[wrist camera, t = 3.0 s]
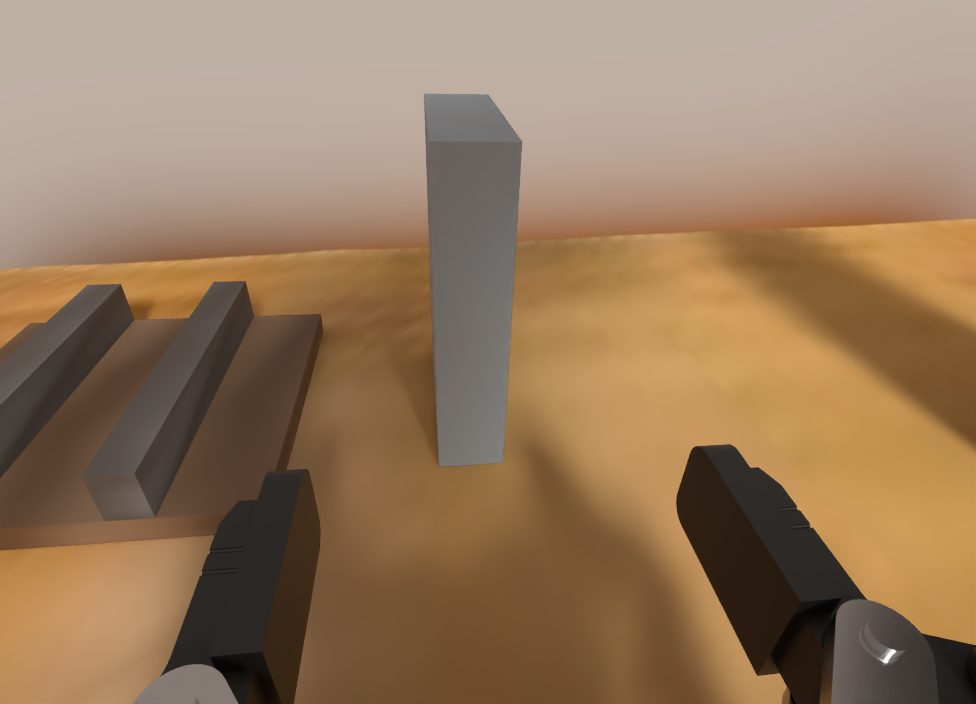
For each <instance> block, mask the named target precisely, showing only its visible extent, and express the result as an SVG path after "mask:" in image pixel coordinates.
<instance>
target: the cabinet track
mask: <svg viewBox="0 0 976 704" xmlns="http://www.w3.org/2000/svg"><path fill="white" fill-rule="evenodd" d="M322 333H323V327H322V321H321V314H312V315H280V316H254V315H253V310H252V306H251V302H250V298H249V294H248V290H247V285H246V281H234V282H213V284H212V285H211V287H210V288H209V290H208V291H207V293H206V294H205V296H204V297H203V299H202V300H201V301H200V303H199V304H198V306H197V307H196V309H195V310H194V312H193V313H192V315H191V316H190V317H189V318H183V319H150V320H134V318H133V315H132V312H131V310H130V307H129V304H128V302H127V299H126V297H125V294H124V291H123V289H122V286H121V284H110V285H87V286H86V287H85V288H84V289H83V290H82V291H80V292H79V293H78V294H77V295H76V296H75V297H74V298H73V299H72V300H70V301H69V302H68V303H67V304H66V305H65V306H64V307H63V308H62V309H61V310H59V311H58V312H57V313H56V314H55V315H54V316H53V317H52V318H51V319H49V320H48V321H47V322H46V323H30V324H29V325H28V326H26V327H25V328H24V329H23V330H22V331H21V332H19V333H18V334H17V335H16V336H15V337H14V338H13V339H11V340H10V341H9V342H8V343H7V344H6V345H4V346H3V347H2V348H1V349H0V550H10V549H24V548H38V547H51V546H65V545H79V544H93V543H106V542H120V541H134V540H148V539H161V538H175V537H189V536H203V535H215V534H216V531H217V528H218V525H219V523H220V522H221V521H222V520H223V519H224V517H225V516H226V515H227V514H228V513H229V511H230V510H231V509H232V508H233V507H234V506H235V504H236V503H237V502H238V501H244V500H258V496H259V493H260V490H261V487H262V483H263V480H264V477H265V475H266V473H267V472H269V471H285V470H286V468H287V465H288V461H289V457H290V453H291V450H292V446H293V442H294V438H295V435H296V431H297V427H298V423H299V420H300V416H301V412H302V408H303V404H304V401H305V397H306V393H307V389H308V386H309V382H310V378H311V374H312V371H313V367H314V363H315V359H316V356H317V352H318V348H319V344H320V340H321V337H322Z"/></svg>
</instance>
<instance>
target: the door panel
mask: <svg viewBox="0 0 976 704" xmlns="http://www.w3.org/2000/svg"><path fill="white" fill-rule="evenodd" d="M424 104H425V105H424V106H425V134H426V135H425V136H426V164H427V165H426V166H427V195H428V224H429V256H430V286H431V316H432V346H433V367H434V386H435V405H436V423H437V442H438V461H439V467H446V466H462V465H478V464H494V463H503V454H504V437H505V420H506V403H507V387H508V370H509V353H510V336H511V320H512V303H513V286H514V269H515V253H516V236H517V219H518V218H517V217H518V201H519V186H520V167H521V152H522V141H521V140H520V138H519V137H518V135H517V134H516V133H515V131H514V130H513V128H512V127H511V125H510V124H509V123H508V121H507V120H506V118H505V117H504V116H503V114H502V113H501V112H500V110H499V109H498V107H497V106H496V105H495V103H494V102H493V100H492V99H491V98H490V96H489V95H479V94H424Z"/></svg>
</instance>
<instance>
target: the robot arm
mask: <svg viewBox="0 0 976 704" xmlns="http://www.w3.org/2000/svg"><path fill="white" fill-rule="evenodd" d="M676 505H677V513H678V517H679V520H680V523H681V525H682V527H683V529H684V531H685V533H686V535H687V537H688V539H689V541H690V543H691V545H692V547H693V549H694V551H695V553H696V555H697V557H698V559H699V561H700V563H701V565H702V567H703V569H704V571H705V573H706V575H707V577H708V579H709V581H710V583H711V585H712V587H713V589H714V591H715V593H716V595H717V597H718V599H719V601H720V603H721V605H722V607H723V609H724V611H725V613H726V615H727V617H728V619H729V621H730V623H731V625H732V627H733V629H734V631H735V633H736V635H737V637H738V639H739V641H740V643H741V645H742V647H743V649H744V651H745V653H746V655H747V657H748V659H749V660H750V662H751V664H752V666H753V668H754V670H755V672H756V674H757V676H759V675H768V674H777V673H780V674H781V676H782V678H783V680H784V682H785V684H786V686H787V687H786V689H785V691H784V693H783V697H782V704H976V645H972V644H967V643H962V642H958V641H953V640H949V639H944V638H939V637H935V636H930V635H926V634H922V633H920V631H919V630H918V629H917V628H916V627H915V626H914V625H913V624H912V623H911V622H909V621H908V620H907V619H906V618H904V617H903V616H902V615H900V614H899V613H897V612H896V611H894V610H892V609H891V608H888V607H886V606H884V605H882V604H879V603H877V602H873V601H869V600H867V599H866V598H865V597H864V595H863V594H862V593H861V592H860V590H859V589H858V588H857V586H856V585H855V584H854V582H853V581H852V580H851V578H850V577H849V576H848V574H847V573H846V571H845V570H844V569H843V567H842V566H841V565H840V563H839V562H838V561H837V559H836V558H835V557H834V555H833V554H832V553H831V551H830V550H829V549H828V547H827V546H826V545H825V543H824V542H823V541H822V539H821V538H820V537H819V535H818V534H817V533H816V531H815V530H814V529H813V528H810V523H809V522H808V520H807V519H806V518H805V516H804V515H803V514H802V512H801V511H800V510H797V506H796V504H795V503H794V502H793V500H792V499H791V498H790V496H789V495H788V494H787V492H786V491H785V490H784V488H783V487H782V486H781V485H780V484H779V483H778V482H777V481H775V480H774V479H773V478H771V477H770V476H769V475H768V474H766V473H765V472H764V471H762V470H761V469H760V468H758V467H757V468H750V467H749V465H748V464H747V463H746V461H745V460H744V458H743V457H742V455H741V454H740V453H739V451H738V450H737V449H736V448H735V447H734V446H732V445H730V444H727V445H711V446H696V447H694V448H693V449H692V450H691V453H690V455H689V459H688V462H687V465H686V468H685V471H684V474H683V478H682V481H681V484H680V487H679V490H678V493H677V499H676ZM319 548H320V521H319V515H318V511H317V506H316V501H315V497H314V492H313V487H312V483H311V478H310V474H309V471H308V470H307V469H301V470H285V471H269V472H267V473H266V475H265V477H264V480H263V483H262V487H261V490H260V493H259V496H258V500H244V501H238V502H237V503H236V504H235V506H234V507H233V508H232V509H231V510H230V511H229V513H228V514H227V515H226V516H225V517H224V519H223V520H222V521H221V522H220V523H219V525H218V528H217V531H216V534H215V536H214V539H213V542H212V545H211V547H210V554H208V556H207V558H206V561H205V564H204V567H203V569H202V576H200V578H199V580H198V583H197V586H196V589H195V591H194V594H193V597H192V600H191V602H190V605H189V608H188V611H187V613H186V616H185V619H184V622H183V624H182V627H181V630H180V633H179V635H178V638H177V641H176V644H175V646H174V649H173V652H172V655H171V657H170V660H169V662H168V664H167V666H166V668H165V670H164V671H163V673H162V675H161V676H160V677H159V678H158V679H156V680H155V681H154V682H152V683H151V684H150V685H149V686H148V687H147V688H146V689H144V690H143V691H142V693H141V694H140V695H139V696H138V697H137V698H136V700H135V701H134V703H133V704H294V698H295V692H296V686H297V681H298V675H299V669H300V663H301V657H302V651H303V645H304V639H305V633H306V627H307V621H308V615H309V609H310V603H311V597H312V591H313V585H314V579H315V573H316V567H317V561H318V555H319Z"/></svg>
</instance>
